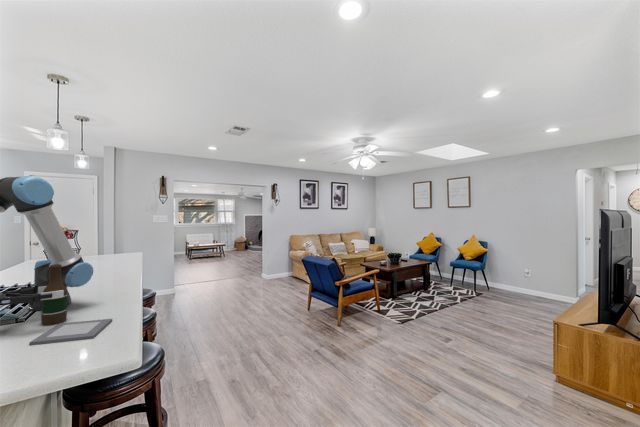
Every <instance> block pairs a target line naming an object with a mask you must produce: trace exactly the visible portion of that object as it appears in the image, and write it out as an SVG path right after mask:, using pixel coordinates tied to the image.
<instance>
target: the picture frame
mask: <svg viewBox="0 0 640 427" xmlns="http://www.w3.org/2000/svg"><path fill="white" fill-rule="evenodd" d="M112 322H113V318H104V319H94V320H82V321H81V320H80V321H71V322H62V323H59V324H56V325H53V327H51V328H50V329H48V330H47V331H44V333H42V334H41V335H39V336H37V337H36V338H34V339H32V340H31V341H29V344H28V346H36V345H45V344H54V343H55V344H56V343H63V342H72V341H74V342H75V341H83V340H92V339H93V340H94V339H95V337H97V336H98V335H99V334H100V333H101V332H102V331H104V329H105V328H107V326H108V325H110V324H111V323H112Z"/></svg>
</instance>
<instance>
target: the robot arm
mask: <svg viewBox="0 0 640 427" xmlns="http://www.w3.org/2000/svg"><path fill="white" fill-rule="evenodd" d="M54 195H55V190H54V187H53V186H52V185H51V183H50V182H49V181H47V180H46V179H45V178H41V177H37V176H33V175H32V176H31V175H29V176H27V175H25V176H8V177H7V176H6V177H3V178H2V177H1V178H0V214H1V213H5V212H6V211H7V210H8V209H9V208H11V207H12V206H13V207H14V208H15V210H16V211H17V213H19V214H20V215H21V214H22V215H24V216H25V218H26V219H27V221H28V222H29V224H30V226H31V229H32V230H33V232H34V233H35V235H36V237H37V238H38V241H39V242H40V244H41V245H42V247H43V249H44V251H45V252H46V254H47V257H48V259H45V260H43V259H42V260H38V261H36V262H35V264H34V269H33V270H34V277H33V278H34V279H33V280H34V282H33V286H29V287H26V288H19V289H14V290H8V291H2V292H1V294H0V304H1V306H4V307H5V306H8V305H9V306H10V305H21V304H22V305H23V304H27V305H28V306H29V307H31V308H33V309H30V308H28V306H27V308H28V309H27V310H28V311H32V312H33V311H35V312H37V311H39V312H40V311H42V300H47V299H54V298H60V297H64V290H59V291H52V292H45V293H43V291H44V289H45V288H46V287H47V285H48V283H49V278H50V269H51V268H50V265H54V264H60V265H62V267H61V279H62V284H63V285H64V286H65V287H66V289H67V306H69V305H70V304H71V303H72V297H71V294H70V292H69V289H68V288H79V287H83V286H85V285H86V284H88V283H89V281H90V280H91V279H92V277H93V275H94V267H93V265H92V264H91V263H89V262H86V261H84V259H83V257H82V256H81V254H80V253H76V252H75V251H74V249H73V248H72V245H71V243H70V241H69V239H68V238H67V236H66V233H65V231H64V230H63V228H62V226H61V224H60V222H59V221H58V217H56V216H57V215H55V212H54V210H53V209H52V207H53V205H54V201H53V199H54Z"/></svg>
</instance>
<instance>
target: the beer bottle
mask: <svg viewBox="0 0 640 427" xmlns="http://www.w3.org/2000/svg"><path fill="white" fill-rule="evenodd" d="M61 267H62V265H60V264H54V265H50V268H51V269H50V278H49V283H48V285H47V287H46V288H45V289H44V291H43V293H45V292H52V291H59V290H64V297H60V298H54V299H47V300H42V310H40V311H41V312H40V313H41V317H40V318H41V320H40V322H41V323H40V324H41V325H42V326H46V327H49V326H56V325H58V324H59V323H65V322H66V321H67V317H68V315H67V314H68V305H67V289H68V288H67V289H66V287H65V286H64V285H63V284H62V279H61Z"/></svg>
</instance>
